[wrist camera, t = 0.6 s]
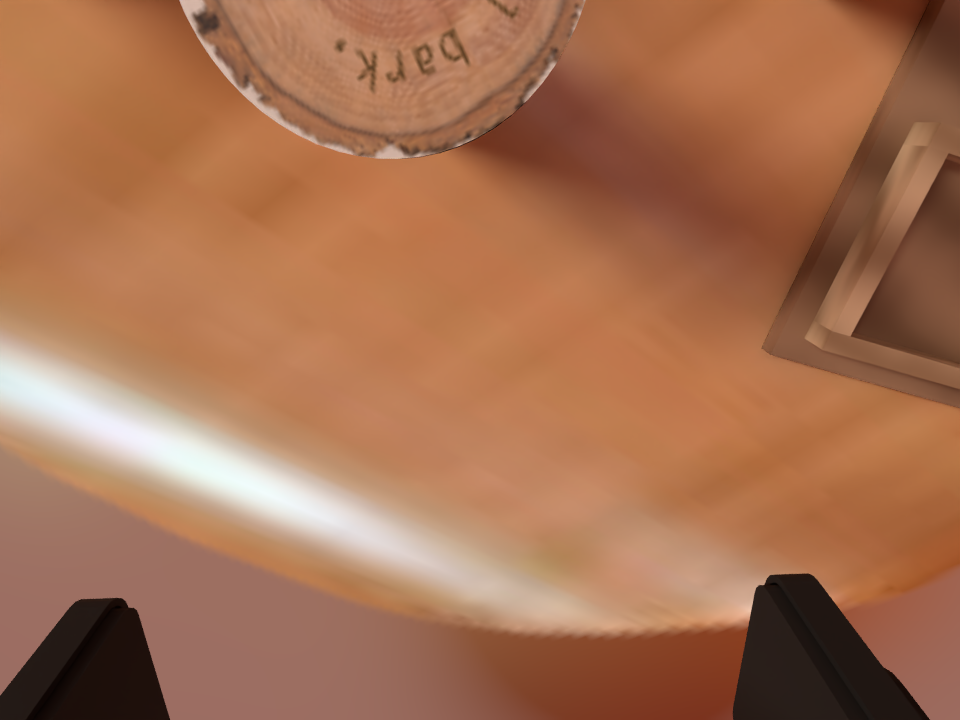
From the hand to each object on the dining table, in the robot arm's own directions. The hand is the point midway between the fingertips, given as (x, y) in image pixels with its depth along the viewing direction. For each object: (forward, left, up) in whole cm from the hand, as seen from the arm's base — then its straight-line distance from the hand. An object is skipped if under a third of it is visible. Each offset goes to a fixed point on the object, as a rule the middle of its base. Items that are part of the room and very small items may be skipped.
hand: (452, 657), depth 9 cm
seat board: (-11, +28, -29) cm, 42 cm away
